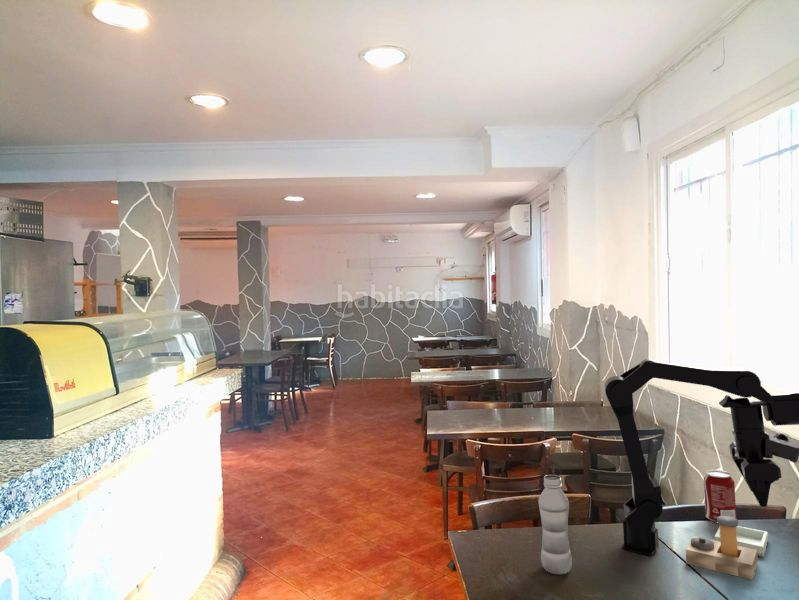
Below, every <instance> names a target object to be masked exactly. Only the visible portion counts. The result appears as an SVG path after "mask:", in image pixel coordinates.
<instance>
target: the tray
mask: <svg viewBox="0 0 799 600" xmlns="http://www.w3.org/2000/svg"><path fill="white" fill-rule="evenodd" d="M736 532H737V546H741V547H746V548H750V549H755V550H757V557H764V556H765V554H764V553H766V551H767V547H766V546H768V544H767V542H768V543H769V536H768V531H765V530H759V529H754V528H750V527H744V526H741V525H740V526H739V525H738V526H736ZM714 541H719V542H721V541H720V526H719V527H718V529H717V530H716V533H715V535H714Z"/></svg>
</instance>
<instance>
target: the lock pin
mask: <svg viewBox="0 0 799 600" xmlns="http://www.w3.org/2000/svg"><path fill="white" fill-rule="evenodd" d="M717 522H718V523H717V524H719V527H720V541H721V554H725V555H729V556H733V557H738V551H737V532H736V526H739V520H738V519H737V518H736V519H735V518H733V517H729V516H719V517H717Z"/></svg>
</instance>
